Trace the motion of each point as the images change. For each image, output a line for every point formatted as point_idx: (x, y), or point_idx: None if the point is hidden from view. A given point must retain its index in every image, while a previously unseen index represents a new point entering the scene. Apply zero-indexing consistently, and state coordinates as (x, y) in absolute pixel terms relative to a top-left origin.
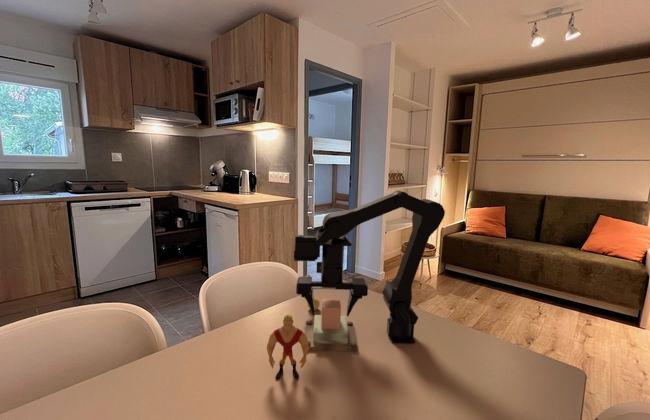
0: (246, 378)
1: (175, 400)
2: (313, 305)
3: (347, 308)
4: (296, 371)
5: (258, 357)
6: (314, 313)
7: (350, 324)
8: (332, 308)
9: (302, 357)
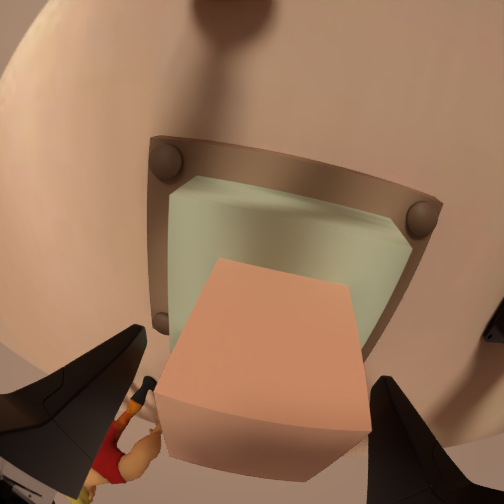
0: (68, 353)
1: (21, 348)
2: (106, 433)
3: (383, 431)
4: (152, 388)
5: (57, 307)
6: (138, 365)
7: (419, 235)
8: (245, 472)
9: (152, 432)
